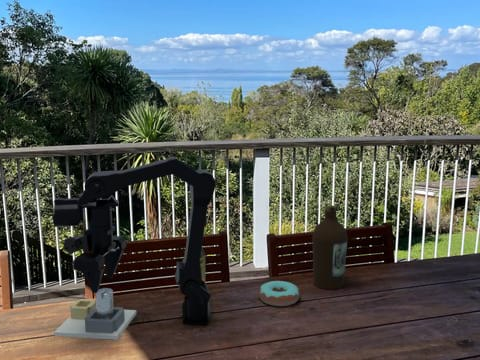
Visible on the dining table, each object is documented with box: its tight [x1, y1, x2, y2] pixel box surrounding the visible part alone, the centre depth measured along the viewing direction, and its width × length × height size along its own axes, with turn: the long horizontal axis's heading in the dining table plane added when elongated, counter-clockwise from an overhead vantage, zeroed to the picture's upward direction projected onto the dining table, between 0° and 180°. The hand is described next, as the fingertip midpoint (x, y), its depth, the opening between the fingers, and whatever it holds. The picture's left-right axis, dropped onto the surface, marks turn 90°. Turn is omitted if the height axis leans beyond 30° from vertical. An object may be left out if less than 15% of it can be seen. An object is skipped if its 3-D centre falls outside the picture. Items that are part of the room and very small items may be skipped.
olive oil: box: [311, 204, 348, 291], centre depth 145 cm, size 11×11×25 cm
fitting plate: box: [53, 298, 137, 341], centre depth 121 cm, size 16×14×4 cm
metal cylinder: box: [95, 287, 114, 320], centre depth 118 cm, size 4×4×9 cm
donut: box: [257, 280, 301, 307], centre depth 136 cm, size 12×12×4 cm
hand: (102, 285), depth 117 cm, fingers open, 9 cm apart
